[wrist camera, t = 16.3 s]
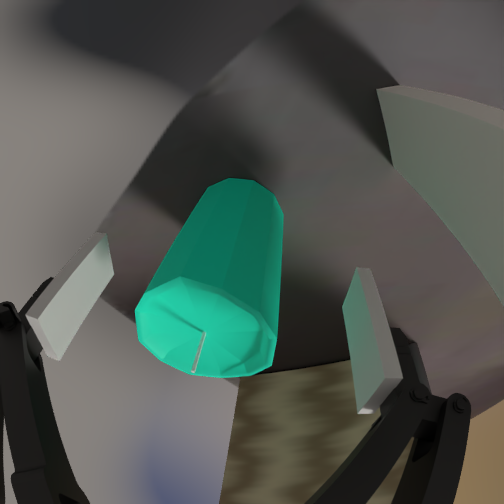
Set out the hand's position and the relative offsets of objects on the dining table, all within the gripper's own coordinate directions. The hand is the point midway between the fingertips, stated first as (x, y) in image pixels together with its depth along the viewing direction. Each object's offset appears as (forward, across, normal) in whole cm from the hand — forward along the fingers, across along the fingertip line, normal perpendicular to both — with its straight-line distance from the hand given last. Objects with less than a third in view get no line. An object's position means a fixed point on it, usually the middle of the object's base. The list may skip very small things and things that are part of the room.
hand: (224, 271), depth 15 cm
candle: (+6, 0, 0) cm, 6 cm away
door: (+6, +9, -16) cm, 19 cm away
